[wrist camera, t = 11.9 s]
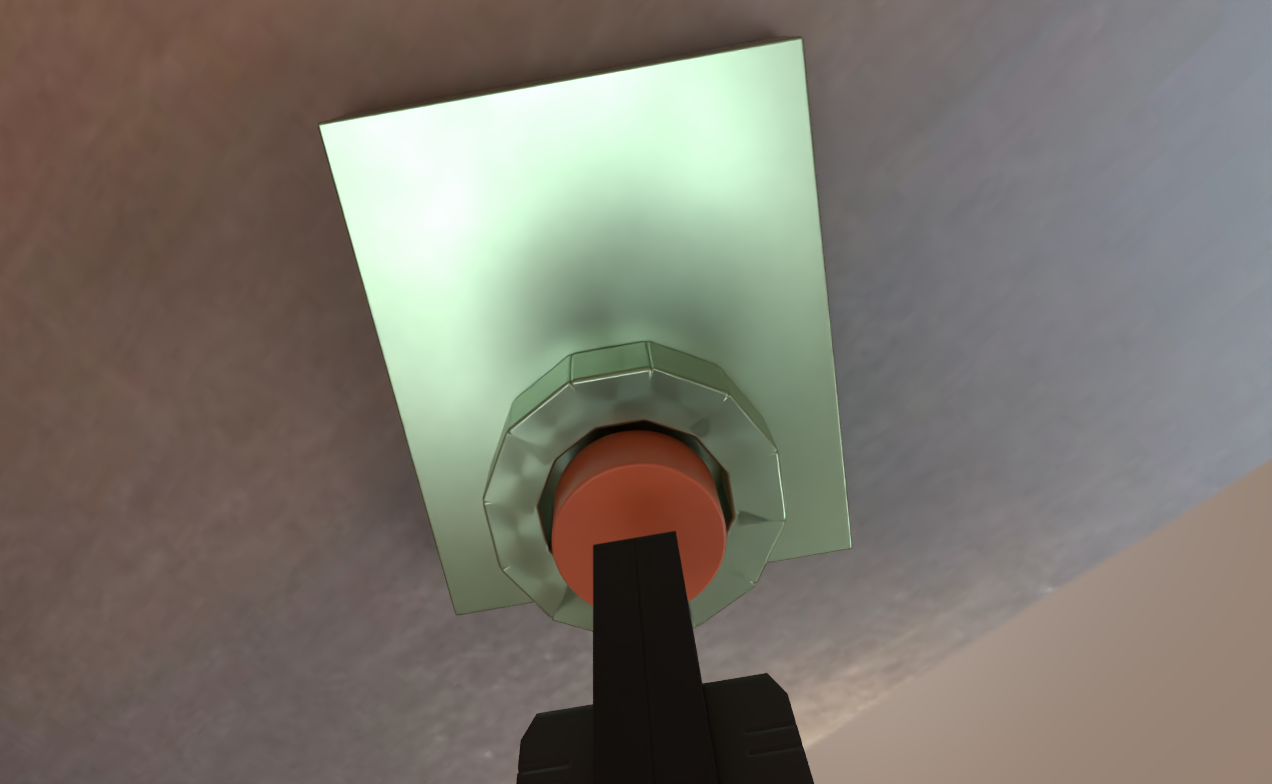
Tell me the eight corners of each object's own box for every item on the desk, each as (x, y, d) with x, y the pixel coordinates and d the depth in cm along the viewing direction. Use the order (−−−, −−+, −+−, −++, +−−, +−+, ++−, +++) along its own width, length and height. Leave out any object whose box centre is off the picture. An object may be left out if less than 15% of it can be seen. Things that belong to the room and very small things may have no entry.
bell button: (726, 559, 21) (737, 602, 20) (571, 585, 21) (569, 630, 20) (704, 415, 20) (714, 449, 18) (539, 444, 20) (534, 480, 18)
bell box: (832, 515, 25) (874, 598, 21) (468, 577, 25) (446, 670, 22) (782, 36, 21) (824, 35, 17) (343, 115, 21) (288, 131, 17)
